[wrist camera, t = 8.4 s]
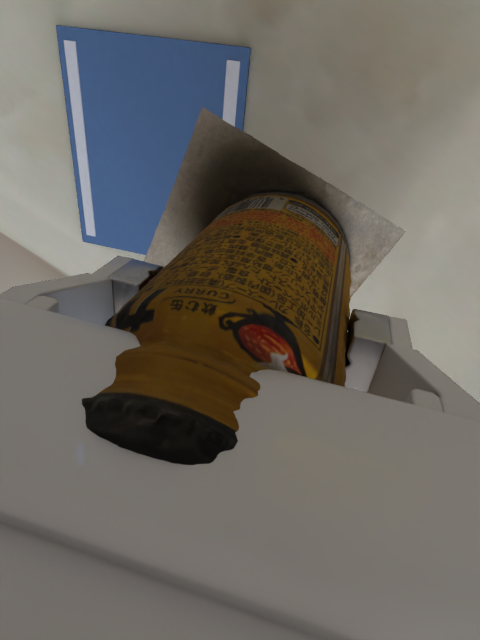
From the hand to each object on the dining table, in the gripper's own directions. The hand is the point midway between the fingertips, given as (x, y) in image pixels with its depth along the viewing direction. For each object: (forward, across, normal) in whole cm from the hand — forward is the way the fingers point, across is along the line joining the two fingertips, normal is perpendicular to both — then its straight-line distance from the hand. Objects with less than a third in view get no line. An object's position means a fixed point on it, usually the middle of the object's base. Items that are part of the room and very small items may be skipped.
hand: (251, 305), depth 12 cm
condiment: (+5, +1, 0) cm, 5 cm away
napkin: (+19, +13, +1) cm, 23 cm away
